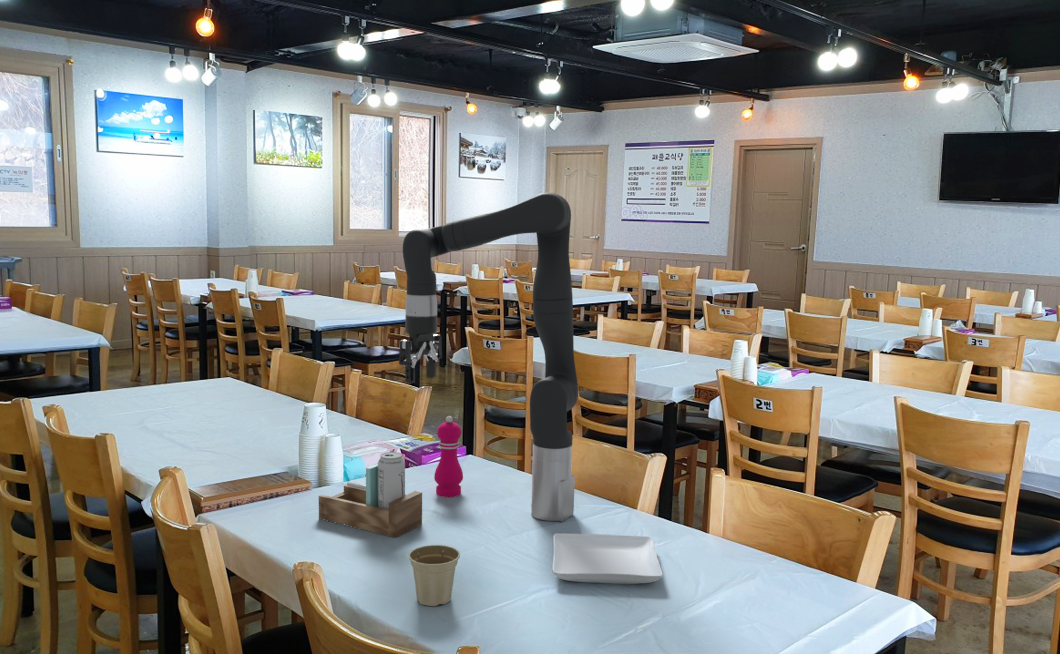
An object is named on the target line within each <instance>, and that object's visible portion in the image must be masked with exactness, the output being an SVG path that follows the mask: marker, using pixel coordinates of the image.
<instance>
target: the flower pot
mask: <svg viewBox="0 0 1060 654" xmlns="http://www.w3.org/2000/svg"><path fill="white" fill-rule="evenodd" d="M407 558H408V560H409V561H410V565H411V568H412V570H413V578H414V585H415V592H416V599H417V601H418V602H419V604H421V605H422V606H423V605H424V606H428V607H437V606H438V605H446V604H448V603H449V602H450V601H451V599H452V593H453V586H454V581H455V580H454V579H455V572H456V567H457V565H458V562H459V560H460V558H461V552H460V551H459V549H457V548H456V547H453V546H450V545H446V544H444V545H443V544H428V545H422V546H418V547H415V548H414V549H412V550H410V551H409V553H408V557H407Z"/></svg>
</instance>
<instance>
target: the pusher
mask: <svg viewBox="0 0 1060 654" xmlns="http://www.w3.org/2000/svg"><path fill="white" fill-rule="evenodd" d="M346 485H347V486H350V487H355V488H359V489H364V490H366V505H370V506H374V507H378V463H375V464H373V465H370V466H367V467H365V484H361V483H356V482H352V481H347V483H346Z"/></svg>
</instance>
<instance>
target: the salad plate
mask: <svg viewBox="0 0 1060 654" xmlns="http://www.w3.org/2000/svg"><path fill="white" fill-rule="evenodd" d="M552 541H553V544H552V545H553V558H552V566H551V570H552V573H553V575H554V576H556V577H557V578H558V579H560V580H564V581H569V582H575V583H576V582H577V583H590V584H591V583H592V584H593V583H595V584H621V585H622V584H623V585H624V584H626V585H637V584H638V585H639V584H649V583H653V582H656V581H659V580H660V579H662V577H663V576H664V574H663V570H662V567H661V565H660V562H659V558H658V556H657V552H656V547H655V541H654V539H653V537H651V536H646V535H645V536H644V535H627V534H626V535H625V534H604V533H601V534H600V533H554V534H553V537H552Z"/></svg>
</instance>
